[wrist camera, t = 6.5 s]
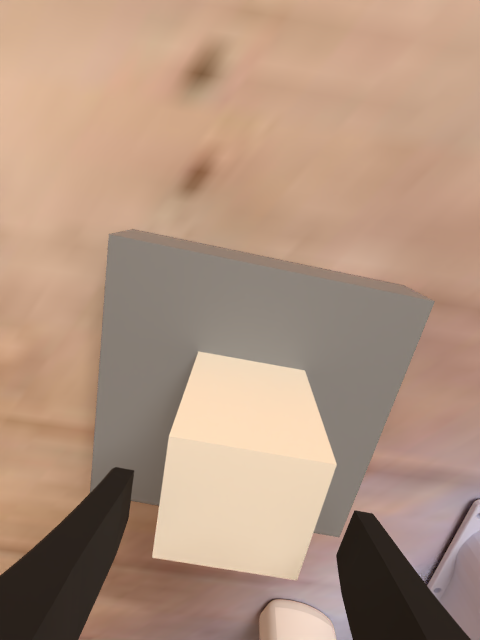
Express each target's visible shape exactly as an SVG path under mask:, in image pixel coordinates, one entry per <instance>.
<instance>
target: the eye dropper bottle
mask: <svg viewBox="0 0 480 640" xmlns="http://www.w3.org/2000/svg"><path fill="white" fill-rule="evenodd" d="M259 639H260V640H337V639H336V635H335V630H334V627H333V624H332V622H331V621H330V619H329V618H328V617H327V616H325V615H324V614H323V613H321V612H320V611H318V610H317V609H315V608H313V607H311V606H309V605H306V604H304V603H300V602H296V601H292V600H284V599H276V600H272V601H271V602H270V603H269V604H268V605H267V606H266V607H265V609H264V610H263V611H262V612H261V614H260V617H259Z"/></svg>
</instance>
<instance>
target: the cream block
mask: <svg viewBox="0 0 480 640" xmlns="http://www.w3.org/2000/svg"><path fill="white" fill-rule="evenodd" d="M336 466H337V464H336V461H335V458H334V455H333V452H332V449H331V446H330V443H329V440H328V437H327V434H326V431H325V428H324V425H323V422H322V419H321V416H320V413H319V411H318V408H317V405H316V402H315V399H314V396H313V393H312V390H311V387H310V384H309V381H308V378H307V375H306V372H305V370H299V369H294V368H288V367H283V366H277V365H271V364H266V363H260V362H255V361H249V360H243V359H238V358H232V357H227V356H221V355H216V354H210V353H204V352H199V351H198V354H197V357H196V360H195V363H194V366H193V368H192V371H191V374H190V377H189V380H188V383H187V386H186V389H185V391H184V394H183V397H182V400H181V403H180V406H179V409H178V411H177V414H176V417H175V420H174V423H173V426H172V429H171V432H170V434H169V439H168V446H167V454H166V461H165V468H164V475H163V482H162V490H161V497H160V504H159V511H158V518H157V526H156V533H155V540H154V547H153V554H152V558H158V559H164V560H170V561H177V562H183V563H189V564H196V565H202V566H209V567H215V568H221V569H228V570H234V571H240V572H247V573H253V574H260V575H266V576H272V577H279V578H285V579H291V580H297V579H298V576H299V573H300V570H301V567H302V564H303V561H304V558H305V555H306V553H307V550H308V547H309V544H310V541H311V538H312V535H313V532H314V529H315V526H316V524H317V521H318V518H319V515H320V512H321V509H322V506H323V503H324V500H325V497H326V495H327V492H328V489H329V486H330V483H331V480H332V477H333V474H334V471H335V468H336Z"/></svg>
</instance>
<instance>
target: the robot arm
mask: <svg viewBox="0 0 480 640" xmlns="http://www.w3.org/2000/svg"><path fill="white" fill-rule="evenodd" d="M133 477H134V470H130V469H124V468H119V467H114V468H113V469H111V470H110V471H109V473H108V474H107V475H106V476H105V477H104V478H103V480H102V481H101V482H100V483H99V484H98V485H97V486H96V487H95V488H94V490H93V491H92V492H91V493H90V494H89V495H88V496H87V497H86V498H85V499H84V500H83V501H82V502H81V503H80V504H79V505H78V506H77V507H76V508H75V509H74V510H73V511H72V512H71V513H70V514H69V515H68V516H67V517H66V518H65V519H64V520H63V521H62V522H61V523H60V524H59V525H58V526H57V527H56V528H55V529H54V530H52V531H51V532H50V533H49V534H48V535H47V536H46V537H45V538H44V539H42V540H41V541H40V542H39V543H38V544H37V545H36V546H35V547H34V548H33V549H31V550H30V551H29V552H28V553H27V554H26V555H25V556H23V557H22V558H21V559H20V560H19V561H17V562H16V563H15V564H14V565H13V566H11V567H10V568H9V569H8V570H7V571H5V572H4V573H3V574H2V575H0V640H78V639H79V636H80V634H81V632H82V630H83V628H84V625H85V623H86V621H87V619H88V616H89V614H90V612H91V610H92V607H93V605H94V603H95V601H96V599H97V596H98V594H99V592H100V590H101V587H102V585H103V583H104V581H105V578H106V576H107V574H108V572H109V569H110V567H111V565H112V563H113V560H114V558H115V556H116V553H117V550H118V548H119V545H120V542H121V539H122V536H123V533H124V530H125V527H126V524H127V521H128V517H129V509H130V501H131V493H132V485H133ZM336 557H337V565H338V572H339V579H340V586H341V592H342V597H343V601H344V605H345V610H346V614H347V618H348V622H349V626H350V630H351V634H352V638H353V640H480V499H479V500H476V501H475V502H474V503H473V504H472V506H471V508H470V510H469V511H468V513H467V515H466V517H465V519H464V520H463V522H462V524H461V526H460V528H459V529H458V531H457V533H456V535H455V537H454V538H453V540H452V542H451V544H450V546H449V547H448V549H447V551H446V553H445V555H444V556H443V558H442V560H441V562H440V564H439V565H438V567H437V569H436V571H435V573H434V574H433V576H432V578H431V580H430V582H429V583H428V585H426V584H425V583H424V581H423V580H422V579H421V578H420V576H419V575H418V574H417V572H416V571H415V570H414V568H413V567H412V566H411V564H410V563H409V562H408V560H407V559H406V558H405V556H404V555H403V554H402V552H401V551H400V550H399V548H398V547H397V546H396V544H395V543H394V541H393V540H392V539H391V537H390V536H389V535H388V533H387V532H386V531H385V529H384V528H383V526H382V525H381V524H380V522H379V521H378V520H377V519H376V517H375V516H374V515H373V514H372V513H366V512H361V511H354V513H353V516H352V518H351V520H350V523H349V525H348V528H347V530H346V533H345V535H344V538H343V540H342V542H341V545H340V547H339V550H338V552H337V555H336Z"/></svg>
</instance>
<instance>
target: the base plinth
mask: <svg viewBox="0 0 480 640" xmlns="http://www.w3.org/2000/svg"><path fill="white" fill-rule="evenodd" d="M434 302H435V301H433V300H431V299H429V298H427V297H425V296H423V295H422V294H420V293H418V292H416V291H414V290H412V289H410V288H408V287H406V286H404V285H399V284H394V283H389V282H384V281H380V280H375V279H370V278H365V277H360V276H355V275H351V274H346V273H341V272H336V271H331V270H327V269H322V268H317V267H312V266H307V265H302V264H298V263H293V262H288V261H283V260H278V259H274V258H269V257H264V256H259V255H254V254H249V253H245V252H240V251H235V250H230V249H225V248H220V247H216V246H211V245H206V244H201V243H196V242H192V241H187V240H182V239H177V238H172V237H167V236H163V235H158V234H153V233H148V232H143V231H139V230H134V229H132V230H127V231H122V232H117V233H112V234H109V241H108V255H107V268H106V282H105V296H104V310H103V323H102V337H101V351H100V364H99V378H98V392H97V406H96V419H95V433H94V447H93V461H92V474H91V488H90V493H91V492H92V491H93V490H94V488H95V487H96V486H97V485H98V484H99V483H100V482H101V481H102V480H103V478H104V477H105V476H106V475H107V474H108V473H109V471H110V470H111V469H113V468H114V467H119V468H124V469H130V470H134V477H133V485H132V493H131V501H135V502H141V503H146V504H152V505H158V506H159V504H160V497H161V490H162V482H163V475H164V468H165V461H166V454H167V446H168V439H169V434H170V432H171V429H172V426H173V423H174V420H175V417H176V414H177V411H178V409H179V406H180V403H181V400H182V397H183V394H184V391H185V389H186V386H187V383H188V380H189V377H190V374H191V371H192V368H193V366H194V363H195V360H196V357H197V354H198V351H199V352H204V353H210V354H216V355H221V356H227V357H232V358H238V359H243V360H249V361H255V362H260V363H266V364H271V365H277V366H283V367H288V368H294V369H299V370H305V372H306V375H307V378H308V381H309V384H310V387H311V390H312V393H313V396H314V399H315V402H316V405H317V408H318V411H319V413H320V416H321V419H322V422H323V425H324V428H325V431H326V434H327V437H328V440H329V443H330V446H331V449H332V452H333V455H334V458H335V461H336V464H337V466H336V468H335V471H334V474H333V477H332V480H331V483H330V486H329V489H328V492H327V495H326V497H325V500H324V503H323V506H322V509H321V512H320V515H319V518H318V521H317V524H316V526H315V529H314V532H313V533H318V534H323V535H329V536H335V537H340V534H341V532H342V529H343V527H344V524H345V522H346V520H347V517H348V515H349V512H350V510H351V507H352V505H353V502H354V500H355V497H356V495H357V492H358V490H359V487H360V485H361V482H362V480H363V478H364V475H365V473H366V470H367V468H368V465H369V463H370V460H371V458H372V455H373V453H374V450H375V448H376V445H377V443H378V440H379V438H380V436H381V433H382V431H383V428H384V426H385V423H386V421H387V418H388V416H389V413H390V411H391V408H392V406H393V403H394V401H395V398H396V396H397V393H398V391H399V389H400V386H401V384H402V381H403V379H404V376H405V374H406V371H407V369H408V366H409V364H410V361H411V359H412V356H413V354H414V351H415V349H416V347H417V344H418V342H419V339H420V337H421V334H422V332H423V329H424V327H425V324H426V322H427V319H428V317H429V314H430V312H431V309H432V307H433V305H434Z"/></svg>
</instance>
